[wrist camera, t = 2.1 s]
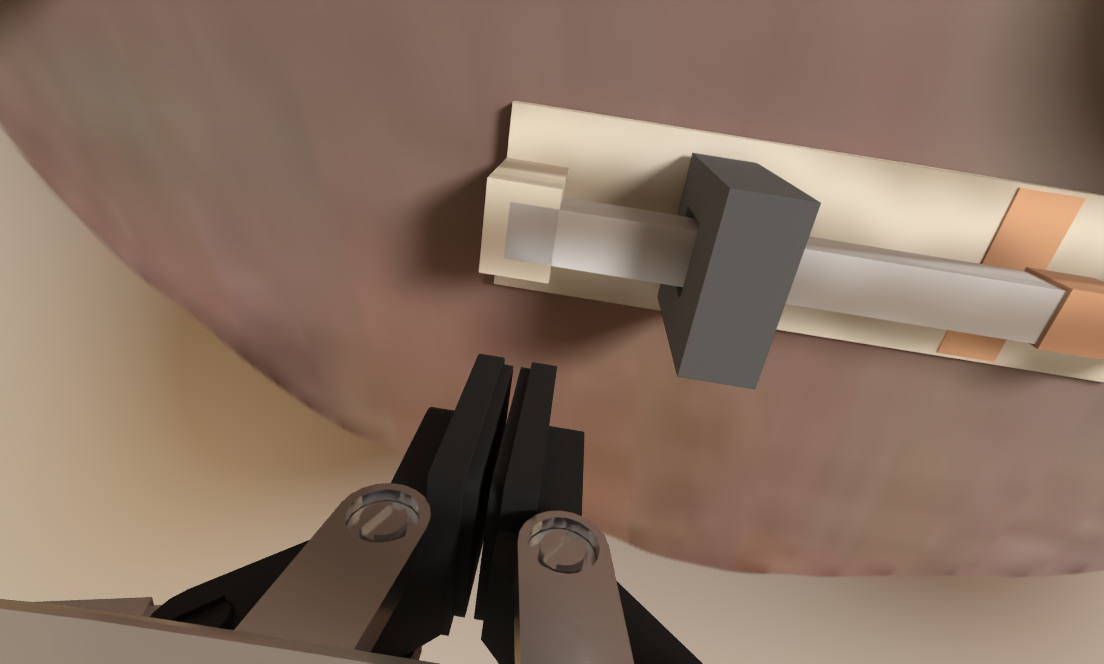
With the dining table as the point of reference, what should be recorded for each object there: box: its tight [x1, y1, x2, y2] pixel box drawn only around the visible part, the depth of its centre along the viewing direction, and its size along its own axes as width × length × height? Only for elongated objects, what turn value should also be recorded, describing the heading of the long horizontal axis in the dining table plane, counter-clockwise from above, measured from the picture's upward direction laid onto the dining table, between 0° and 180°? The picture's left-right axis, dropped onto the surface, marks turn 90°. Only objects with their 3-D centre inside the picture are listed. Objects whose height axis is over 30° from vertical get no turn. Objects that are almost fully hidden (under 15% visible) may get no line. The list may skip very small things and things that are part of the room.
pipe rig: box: [479, 101, 1104, 382], centre depth 26 cm, size 9×34×6 cm, turn 82°
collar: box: [657, 153, 821, 389], centre depth 24 cm, size 7×3×8 cm, turn 172°
